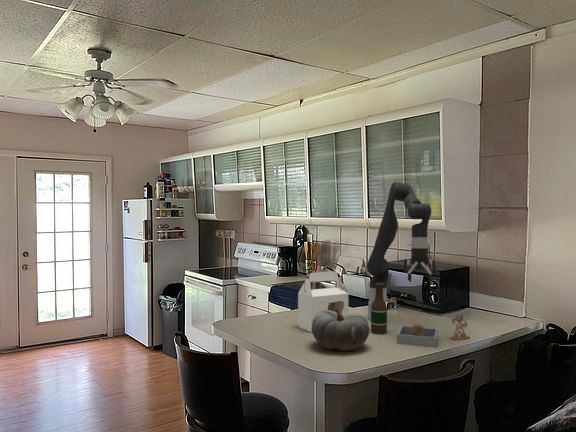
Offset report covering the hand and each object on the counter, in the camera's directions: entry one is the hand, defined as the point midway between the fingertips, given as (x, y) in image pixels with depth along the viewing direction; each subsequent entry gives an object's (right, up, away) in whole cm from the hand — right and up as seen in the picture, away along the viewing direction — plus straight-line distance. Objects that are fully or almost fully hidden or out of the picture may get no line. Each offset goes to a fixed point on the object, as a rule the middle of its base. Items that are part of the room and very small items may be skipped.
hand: (419, 282), depth 227 cm
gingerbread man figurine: (+19, -27, +2) cm, 33 cm away
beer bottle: (-17, -26, +12) cm, 33 cm away
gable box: (-43, -26, +21) cm, 55 cm away
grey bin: (-2, -26, -2) cm, 27 cm away
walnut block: (-2, -27, -2) cm, 27 cm away
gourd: (-38, -27, -13) cm, 48 cm away
